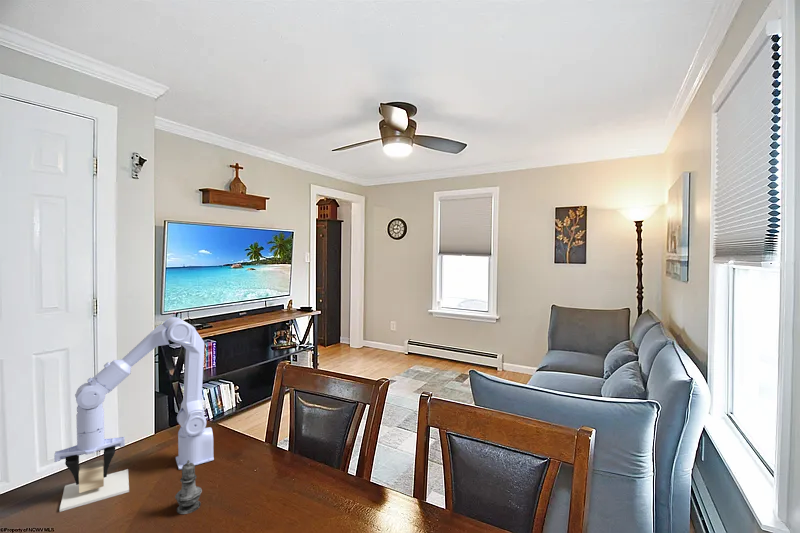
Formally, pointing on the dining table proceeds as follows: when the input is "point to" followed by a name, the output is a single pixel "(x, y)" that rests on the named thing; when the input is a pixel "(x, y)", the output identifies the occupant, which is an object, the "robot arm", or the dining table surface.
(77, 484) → the robot arm
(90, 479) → the birch block
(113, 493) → the white mat
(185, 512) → the grey stone chess piece
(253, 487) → the dining table surface
